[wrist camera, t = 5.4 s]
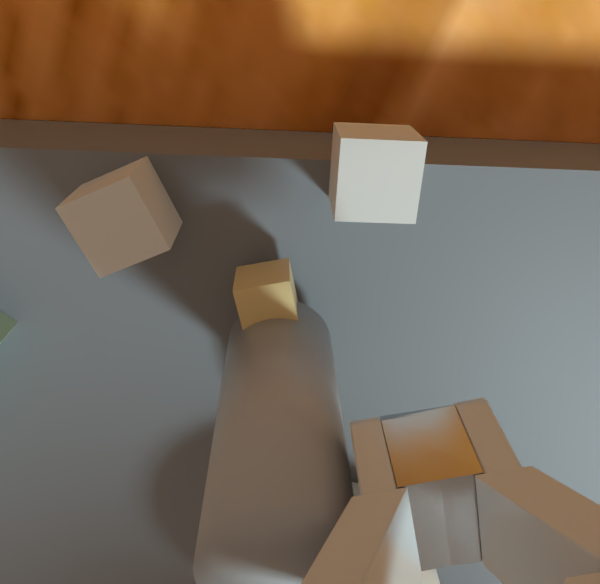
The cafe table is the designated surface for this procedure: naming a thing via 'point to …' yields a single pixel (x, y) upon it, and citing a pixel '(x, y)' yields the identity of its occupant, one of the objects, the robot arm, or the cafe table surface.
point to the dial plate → (310, 291)
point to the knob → (274, 441)
